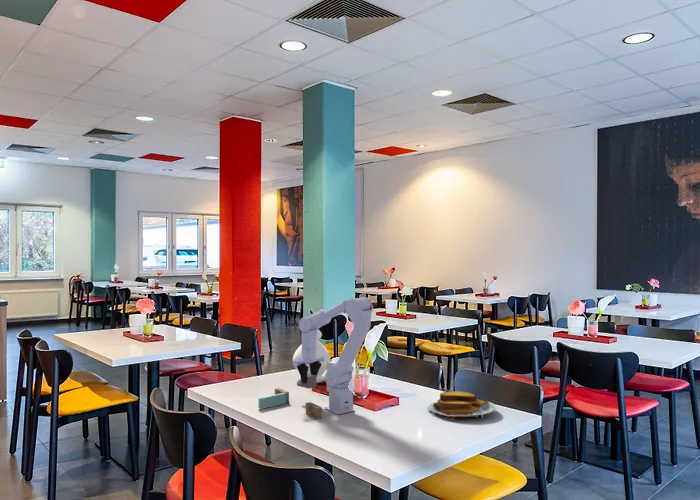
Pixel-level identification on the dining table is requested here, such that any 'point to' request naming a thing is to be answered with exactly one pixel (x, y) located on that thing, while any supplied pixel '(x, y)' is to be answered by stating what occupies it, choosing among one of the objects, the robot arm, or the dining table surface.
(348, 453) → the dining table surface
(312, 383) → the door stop
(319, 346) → the decorative vase
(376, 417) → the dining table surface
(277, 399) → the door
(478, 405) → the food on plate
